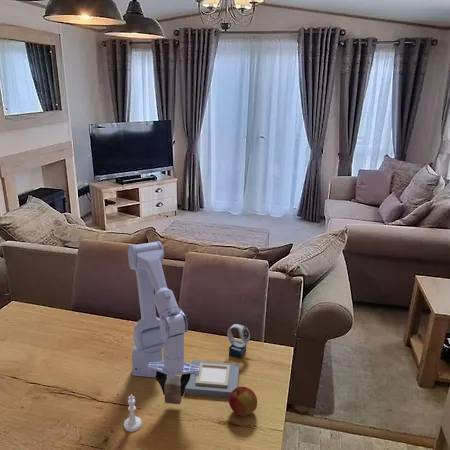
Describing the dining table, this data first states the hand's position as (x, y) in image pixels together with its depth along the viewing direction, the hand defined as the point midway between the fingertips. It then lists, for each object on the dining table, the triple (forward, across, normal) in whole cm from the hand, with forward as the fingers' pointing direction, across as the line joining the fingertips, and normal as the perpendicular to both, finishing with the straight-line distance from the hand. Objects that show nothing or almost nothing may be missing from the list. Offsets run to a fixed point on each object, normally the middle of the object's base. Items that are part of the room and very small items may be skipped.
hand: (173, 393), depth 120 cm
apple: (+5, +20, 0) cm, 21 cm away
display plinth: (+5, +10, +13) cm, 17 cm away
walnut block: (+2, 0, 0) cm, 2 cm away
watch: (+5, +17, +29) cm, 34 cm away
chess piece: (+5, -10, -8) cm, 14 cm away
